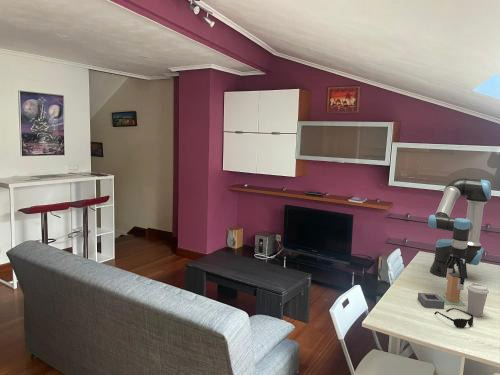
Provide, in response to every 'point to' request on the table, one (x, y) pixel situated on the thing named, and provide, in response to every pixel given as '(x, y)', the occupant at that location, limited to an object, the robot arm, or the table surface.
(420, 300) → the grey square frame
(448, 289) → the plug
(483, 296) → the coffee cup
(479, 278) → the table surface
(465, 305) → the pad
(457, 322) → the sunglasses
